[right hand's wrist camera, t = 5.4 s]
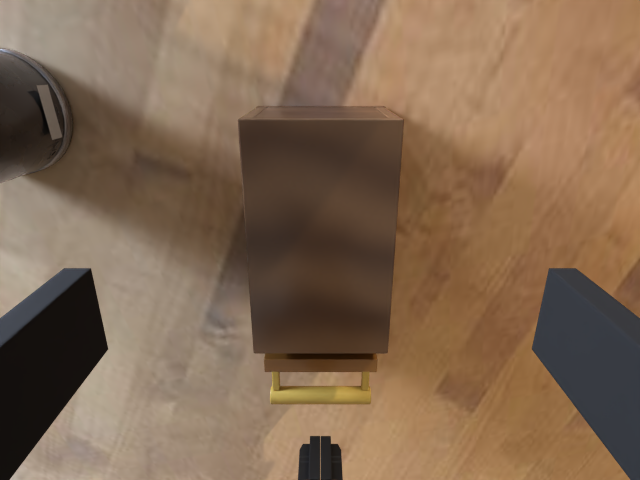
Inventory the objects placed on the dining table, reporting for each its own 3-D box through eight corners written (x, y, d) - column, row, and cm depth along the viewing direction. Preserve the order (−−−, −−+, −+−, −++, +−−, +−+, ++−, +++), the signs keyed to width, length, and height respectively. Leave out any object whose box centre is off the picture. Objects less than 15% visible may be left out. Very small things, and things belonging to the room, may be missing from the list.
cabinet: (374, 294, 40) (387, 353, 32) (267, 294, 40) (253, 353, 32) (383, 106, 34) (404, 118, 26) (257, 106, 34) (237, 118, 26)
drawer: (365, 372, 43) (373, 428, 36) (275, 372, 43) (267, 428, 36) (375, 153, 35) (388, 173, 28) (265, 153, 35) (252, 173, 28)
